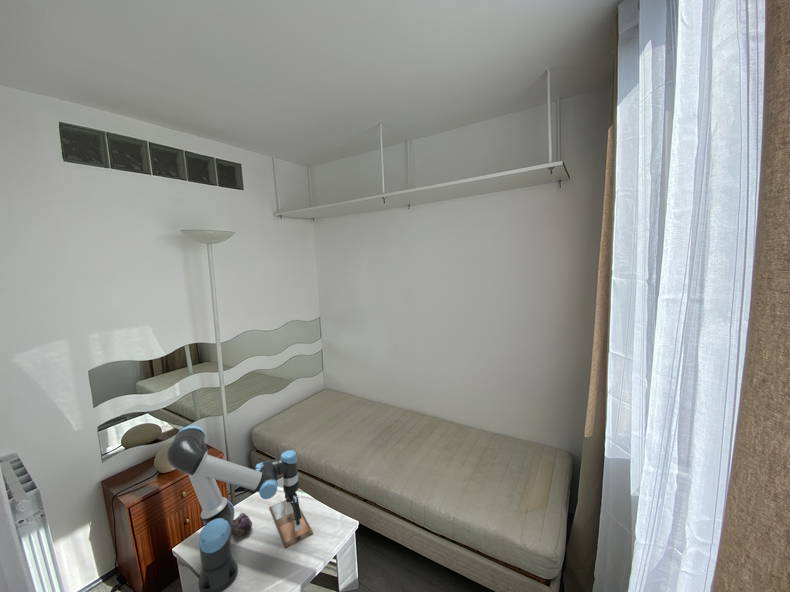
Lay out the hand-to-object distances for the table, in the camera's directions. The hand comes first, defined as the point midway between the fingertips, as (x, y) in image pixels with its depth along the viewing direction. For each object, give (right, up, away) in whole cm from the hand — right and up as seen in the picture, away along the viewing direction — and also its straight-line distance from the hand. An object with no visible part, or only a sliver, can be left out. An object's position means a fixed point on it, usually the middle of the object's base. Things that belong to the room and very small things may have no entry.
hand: (293, 521), depth 165 cm
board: (-4, -4, +7) cm, 9 cm away
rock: (-30, +2, -2) cm, 30 cm away
